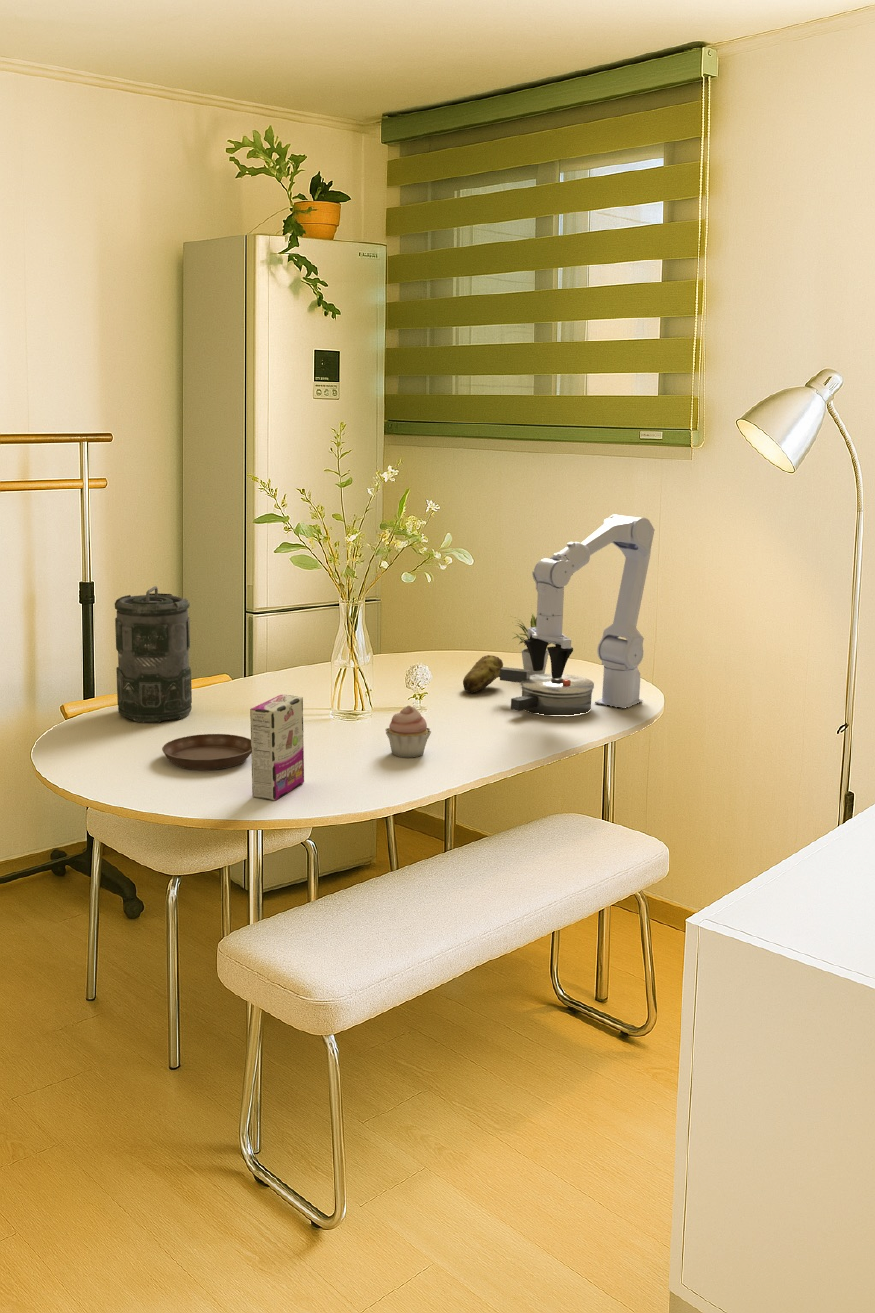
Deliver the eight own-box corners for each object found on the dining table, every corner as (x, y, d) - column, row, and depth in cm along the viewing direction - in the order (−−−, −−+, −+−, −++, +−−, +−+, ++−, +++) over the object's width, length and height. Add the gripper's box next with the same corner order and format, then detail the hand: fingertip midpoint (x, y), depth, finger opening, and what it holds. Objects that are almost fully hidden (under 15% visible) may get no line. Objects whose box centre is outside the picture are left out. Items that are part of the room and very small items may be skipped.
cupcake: (380, 759, 234) (381, 709, 232) (388, 745, 243) (389, 698, 241) (427, 762, 233) (428, 712, 231) (434, 748, 242) (435, 700, 240)
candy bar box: (280, 779, 220) (280, 693, 217) (304, 783, 219) (304, 696, 215) (249, 797, 210) (248, 707, 207) (274, 801, 209) (274, 711, 205)
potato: (449, 689, 291) (450, 657, 290) (490, 682, 299) (492, 651, 297) (470, 696, 285) (471, 663, 283) (512, 689, 292) (513, 657, 291)
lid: (601, 681, 280) (602, 670, 279) (583, 697, 265) (584, 685, 264) (512, 672, 288) (512, 661, 287) (489, 686, 272) (490, 675, 272)
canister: (184, 724, 255) (181, 595, 249) (109, 723, 255) (105, 593, 249) (198, 705, 270) (195, 583, 264) (128, 704, 270) (124, 581, 264)
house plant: (498, 667, 316) (500, 606, 312) (549, 666, 318) (551, 606, 315) (511, 680, 302) (513, 616, 298) (564, 679, 305) (567, 616, 301)
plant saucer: (144, 759, 231) (143, 744, 230) (218, 742, 244) (218, 727, 243) (199, 781, 219) (198, 765, 219) (274, 761, 232) (273, 746, 232)
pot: (552, 695, 288) (553, 675, 287) (605, 709, 276) (607, 688, 275) (488, 710, 272) (488, 689, 271) (541, 725, 261) (542, 703, 260)
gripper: (516, 609, 266) (514, 668, 269) (553, 621, 254) (550, 683, 257) (543, 607, 270) (540, 666, 273) (580, 618, 257) (577, 680, 260)
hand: (547, 674), depth 265 cm, fingers open, 7 cm apart
